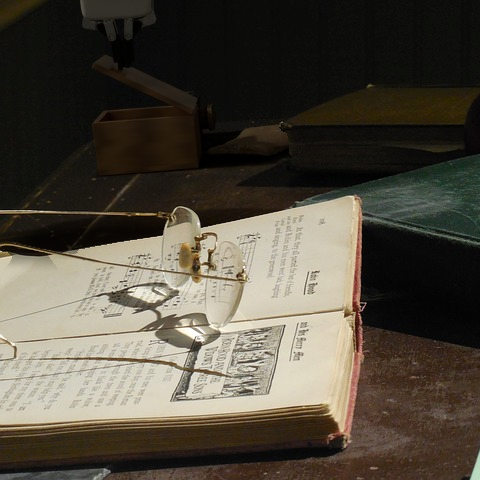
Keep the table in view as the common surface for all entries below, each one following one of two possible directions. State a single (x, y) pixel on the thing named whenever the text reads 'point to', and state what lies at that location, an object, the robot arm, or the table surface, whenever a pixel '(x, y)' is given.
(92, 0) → the robot arm
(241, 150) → the stone
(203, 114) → the camera
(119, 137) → the chest
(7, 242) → the table surface
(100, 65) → the lid
